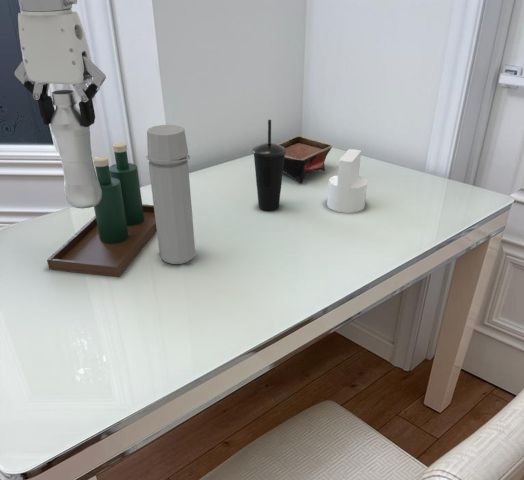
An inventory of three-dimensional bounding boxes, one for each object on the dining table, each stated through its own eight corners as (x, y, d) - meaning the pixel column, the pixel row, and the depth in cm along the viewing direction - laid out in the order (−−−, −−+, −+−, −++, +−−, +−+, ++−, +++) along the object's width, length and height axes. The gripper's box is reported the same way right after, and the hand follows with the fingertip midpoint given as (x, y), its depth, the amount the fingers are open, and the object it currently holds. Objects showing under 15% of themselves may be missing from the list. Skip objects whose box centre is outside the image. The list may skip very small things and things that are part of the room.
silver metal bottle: (73, 199, 107) (49, 87, 95) (108, 199, 107) (88, 87, 95) (63, 212, 102) (35, 96, 90) (99, 212, 102) (76, 96, 89)
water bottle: (188, 268, 108) (177, 137, 93) (152, 263, 110) (135, 133, 95) (206, 248, 115) (197, 123, 100) (171, 243, 117) (158, 120, 102)
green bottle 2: (113, 224, 123) (99, 148, 113) (123, 213, 128) (111, 139, 117) (138, 226, 122) (127, 149, 112) (148, 216, 127) (138, 141, 116)
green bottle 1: (95, 242, 116) (79, 162, 106) (107, 230, 121) (93, 152, 110) (122, 244, 115) (108, 164, 105) (133, 232, 120) (121, 154, 109)
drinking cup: (291, 208, 131) (294, 121, 119) (264, 216, 128) (265, 126, 116) (272, 198, 136) (273, 113, 124) (246, 205, 133) (245, 118, 121)
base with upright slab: (359, 215, 128) (365, 163, 121) (322, 209, 131) (326, 158, 124) (368, 201, 135) (374, 151, 128) (332, 196, 138) (336, 147, 130)
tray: (49, 269, 108) (46, 259, 106) (111, 210, 131) (110, 201, 130) (118, 277, 105) (116, 267, 104) (170, 215, 128) (169, 206, 127)
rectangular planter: (335, 178, 153) (339, 140, 148) (296, 186, 141) (298, 145, 136) (294, 171, 161) (296, 134, 156) (253, 177, 149) (255, 138, 144)
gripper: (107, 0, 86) (125, 120, 97) (7, -2, 89) (35, 115, 100) (85, 5, 80) (107, 133, 91) (-21, 3, 83) (12, 127, 94)
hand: (69, 122), depth 95 cm, fingers closed on silver metal bottle, 6 cm apart
